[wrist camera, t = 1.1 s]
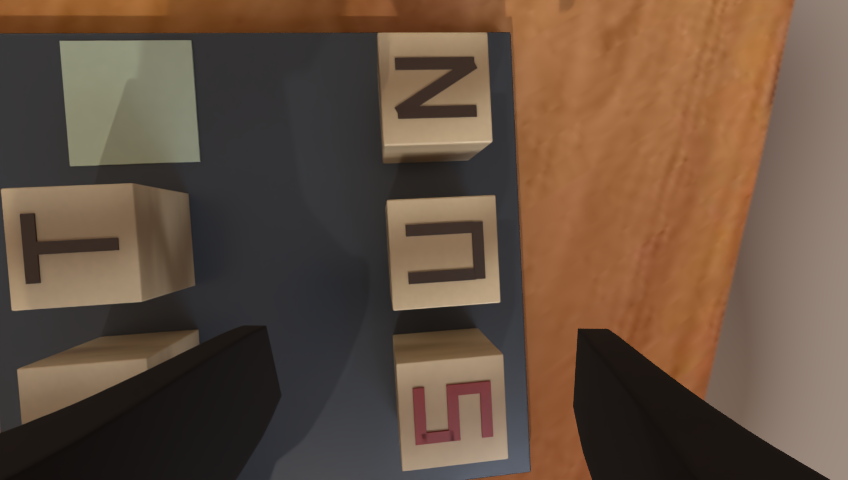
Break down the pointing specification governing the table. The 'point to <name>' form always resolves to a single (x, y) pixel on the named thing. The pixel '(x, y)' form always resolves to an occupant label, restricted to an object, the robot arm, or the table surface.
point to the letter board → (260, 223)
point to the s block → (449, 399)
